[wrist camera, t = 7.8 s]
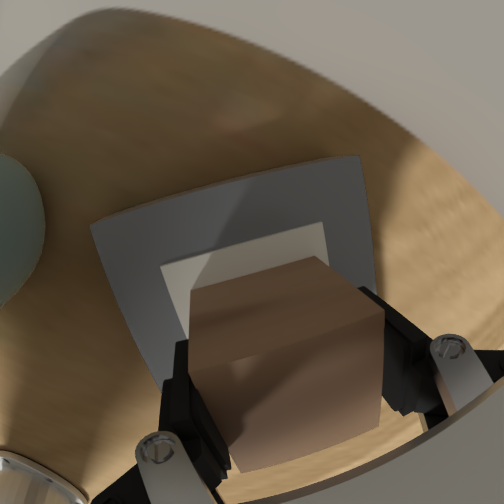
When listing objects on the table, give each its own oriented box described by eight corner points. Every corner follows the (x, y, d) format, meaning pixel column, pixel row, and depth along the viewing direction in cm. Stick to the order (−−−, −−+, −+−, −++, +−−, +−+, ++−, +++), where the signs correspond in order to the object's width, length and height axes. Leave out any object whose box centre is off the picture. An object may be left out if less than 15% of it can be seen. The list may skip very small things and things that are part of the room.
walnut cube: (328, 353, 14) (378, 426, 9) (225, 385, 14) (241, 473, 9) (314, 255, 13) (384, 309, 8) (190, 290, 12) (187, 372, 7)
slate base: (355, 341, 19) (379, 367, 16) (182, 394, 17) (182, 429, 14) (331, 156, 15) (361, 154, 12) (108, 214, 14) (87, 226, 11)
